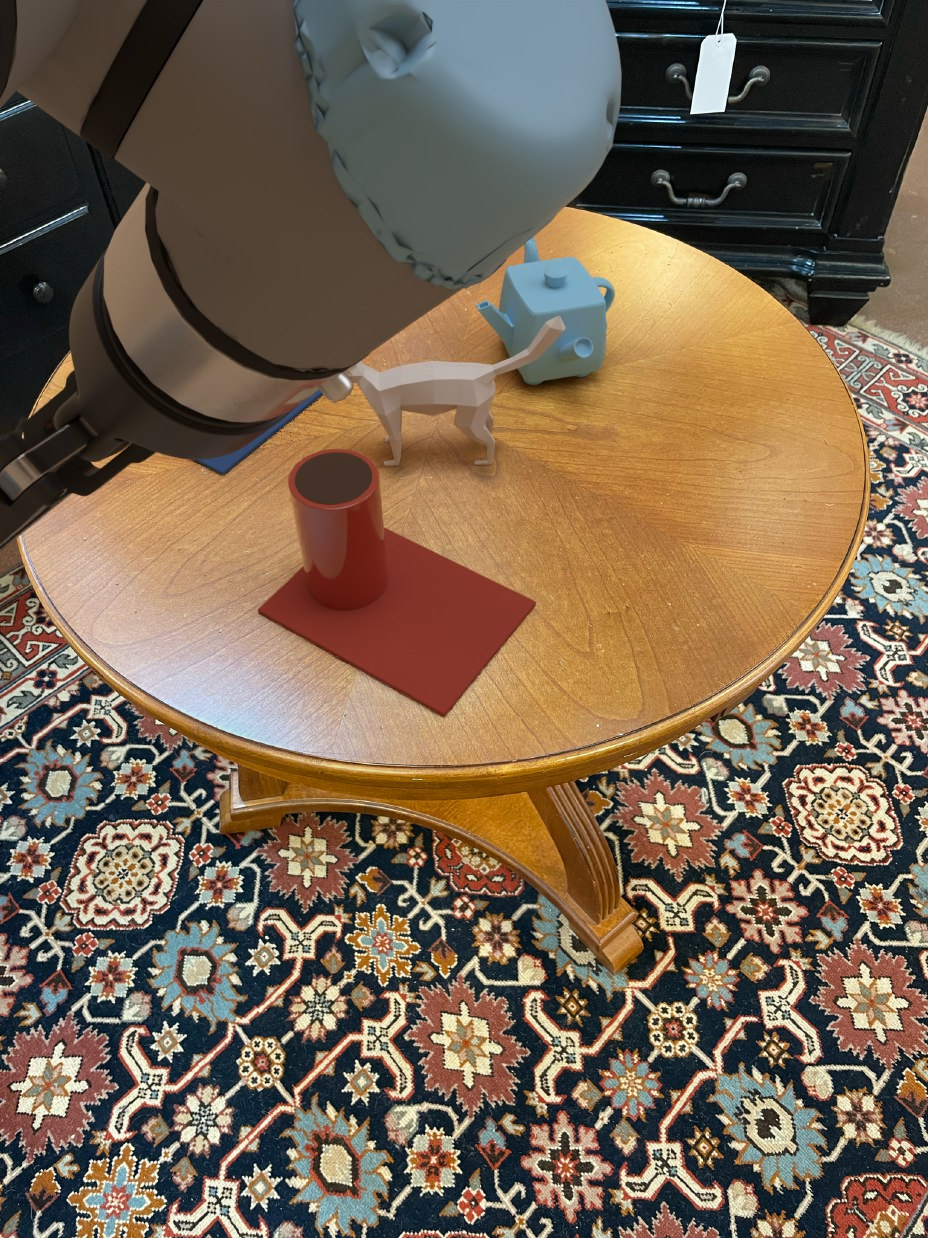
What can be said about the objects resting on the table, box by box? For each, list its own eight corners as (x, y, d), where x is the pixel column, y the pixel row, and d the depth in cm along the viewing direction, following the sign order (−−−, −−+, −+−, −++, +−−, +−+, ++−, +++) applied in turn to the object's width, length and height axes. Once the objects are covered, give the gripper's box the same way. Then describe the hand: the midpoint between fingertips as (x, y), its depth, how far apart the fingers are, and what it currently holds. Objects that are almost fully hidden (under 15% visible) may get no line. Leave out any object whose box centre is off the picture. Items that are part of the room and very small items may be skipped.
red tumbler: (290, 587, 77) (268, 485, 69) (341, 539, 81) (326, 436, 72) (354, 622, 75) (340, 521, 66) (404, 571, 78) (397, 469, 70)
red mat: (258, 612, 76) (257, 609, 76) (358, 517, 83) (357, 514, 83) (444, 717, 70) (444, 714, 69) (536, 604, 77) (536, 601, 76)
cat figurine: (340, 437, 90) (323, 304, 79) (552, 433, 90) (564, 300, 79) (337, 469, 87) (319, 335, 76) (556, 465, 87) (569, 331, 77)
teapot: (638, 401, 93) (654, 310, 86) (501, 426, 91) (505, 334, 83) (575, 303, 104) (584, 214, 97) (451, 323, 102) (450, 233, 94)
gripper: (-15, 658, 25) (-106, 715, 42) (493, 250, 39) (269, 417, 55) (-243, 428, 23) (-243, 585, 40) (379, 79, 36) (182, 307, 53)
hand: (54, 488), depth 48 cm, fingers open, 13 cm apart
